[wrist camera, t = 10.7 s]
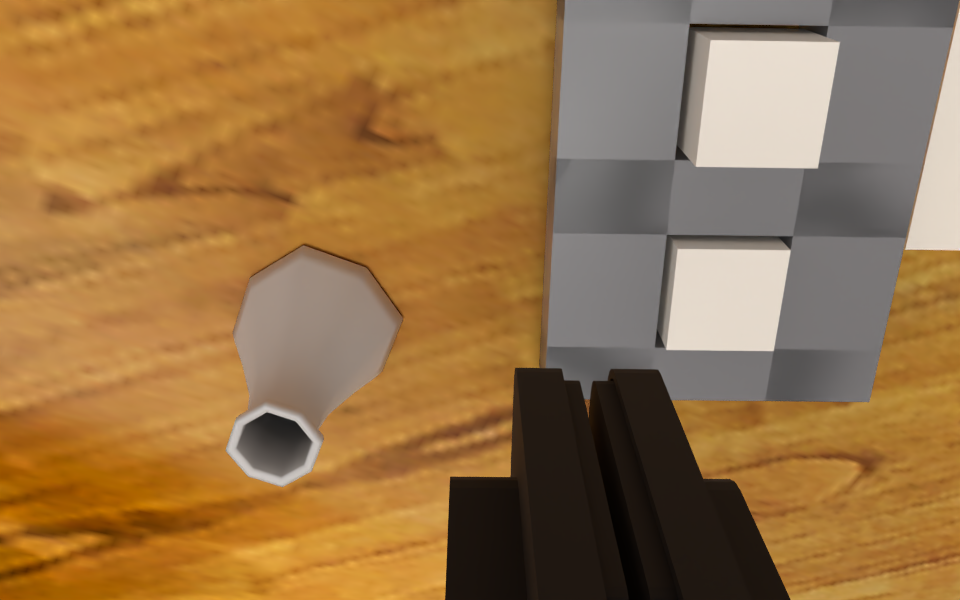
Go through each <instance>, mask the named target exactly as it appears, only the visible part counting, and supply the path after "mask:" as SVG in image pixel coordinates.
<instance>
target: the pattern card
mask: <svg viewBox="0 0 960 600" xmlns="http://www.w3.org/2000/svg"><path fill="white" fill-rule="evenodd" d="M904 249H905V250H960V0H959V4H958V9H957V13H956V18H955V22H954V27H953V31H952V35H951V40H950V44H949V49H948V53H947V58H946V62H945V67H944V71H943V76H942V80H941V84H940V89H939V93H938V98H937V102H936V107H935V111H934V116H933V120H932V125H931V129H930V134H929V138H928V142H927V147H926V151H925V156H924V160H923V165H922V169H921V174H920V178H919V183H918V187H917V191H916V196H915V200H914V205H913V209H912V214H911V218H910V223H909V227H908V232H907V236H906V241H905V245H904Z"/></svg>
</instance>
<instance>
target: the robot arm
mask: <svg viewBox="0 0 960 600" xmlns="http://www.w3.org/2000/svg"><path fill="white" fill-rule="evenodd" d="M445 600H790V598H789V596H788V593H787V591H786V589H785V587H784V585H783V582H782V580H781V578H780V576H779V574H778V572H777V569H776V567H775V565H774V563H773V561H772V558H771V556H770V554H769V552H768V550H767V548H766V545H765V543H764V541H763V539H762V537H761V534H760V532H759V530H758V528H757V526H756V524H755V521H754V519H753V517H752V515H751V513H750V511H749V508H748V506H747V504H746V502H745V500H744V497H743V495H742V493H741V491H740V489H739V488H738V486H737V484H736V483H735V482H734V481H732V480H730V479H703V477H702V475H701V472H700V470H699V468H698V465H697V463H696V460H695V458H694V455H693V453H692V450H691V448H690V445H689V443H688V440H687V438H686V435H685V433H684V430H683V428H682V425H681V423H680V420H679V418H678V415H677V413H676V410H675V408H674V406H673V403H672V401H671V398H670V396H669V393H668V391H667V388H666V386H665V383H664V381H663V378H662V376H661V373H660V372H659V370H658V369H611V370H610V372H609V375H608V381H593V382H592V386H591V394H590V407H589V418H588V414H587V409H586V405H585V401H584V396H583V392H582V387H581V383H580V381H579V380H564V376H563V372H562V369H561V368H515V375H514V397H513V425H512V452H511V477H450V493H449V519H448V545H447V570H446V596H445Z"/></svg>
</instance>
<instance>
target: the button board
mask: <svg viewBox="0 0 960 600" xmlns="http://www.w3.org/2000/svg"><path fill="white" fill-rule="evenodd" d="M958 4H959V0H557V16H556V36H555V57H554V77H553V98H552V118H551V138H550V159H549V179H548V200H547V220H546V241H545V261H544V281H543V302H542V322H541V343H540V363H539V366H540V368H561V369H562V372H563V376H564V380H579V381H580V383H581V387H582V392H583V396H584V399H590V394H591V386H592V382H593V381H608V375H609V372H610V370H611V369H658V370H659V372H660V373H661V376H662V378H663V381H664V383H665V386H666V388H667V391H668V393H669V396H670V398H671V400H720V401H820V402H869V401H870V397H871V392H872V388H873V383H874V379H875V374H876V370H877V365H878V361H879V356H880V352H881V348H882V343H883V339H884V334H885V330H886V325H887V321H888V316H889V312H890V307H891V303H892V298H893V294H894V290H895V285H896V281H897V276H898V272H899V267H900V263H901V258H902V254H903V249H904V245H905V241H906V236H907V232H908V227H909V223H910V218H911V214H912V209H913V205H914V200H915V196H916V191H917V187H918V183H919V178H920V174H921V169H922V165H923V160H924V156H925V151H926V147H927V142H928V138H929V134H930V129H931V125H932V120H933V116H934V111H935V107H936V102H937V98H938V93H939V89H940V84H941V80H942V76H943V71H944V67H945V62H946V58H947V53H948V49H949V44H950V40H951V35H952V31H953V27H954V22H955V18H956V13H957V9H958ZM690 24H745V25H799V28H798V29H806V30H808V31H811V32H814V33H817V34H819V35H822V36H825V37H827V38H830V39H833V40H835V41H838V42H840V45H839V50H838V56H837V62H836V67H835V73H834V79H833V85H832V90H831V96H830V102H829V107H828V113H827V119H826V124H825V130H824V136H823V142H822V147H821V153H820V159H819V164H818V169H817V168H743V167H695V165H694V164H693V163H692V162H691V161H690V160H689V158H688V157H687V156H686V155H685V154H684V153H683V151H682V150H681V149H680V148H679V147H678V146H677V136H678V127H679V117H680V108H681V99H682V90H683V80H684V71H685V62H686V52H687V43H688V34H689V25H690ZM667 235H731V236H778V237H779V238H780V239H781V240H782V241H783V242H784V244H785V245H786V246H787V247H788V248H789V249H790V250H791V252H790V258H789V264H788V269H787V275H786V281H785V287H784V293H783V299H782V305H781V311H780V317H779V323H778V329H777V334H776V340H775V346H774V351H711V350H666V348H665V346H664V344H663V341H662V339H661V337H660V334H659V332H658V330H657V322H658V312H659V303H660V294H661V284H662V275H663V266H664V257H665V247H666V238H667Z"/></svg>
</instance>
